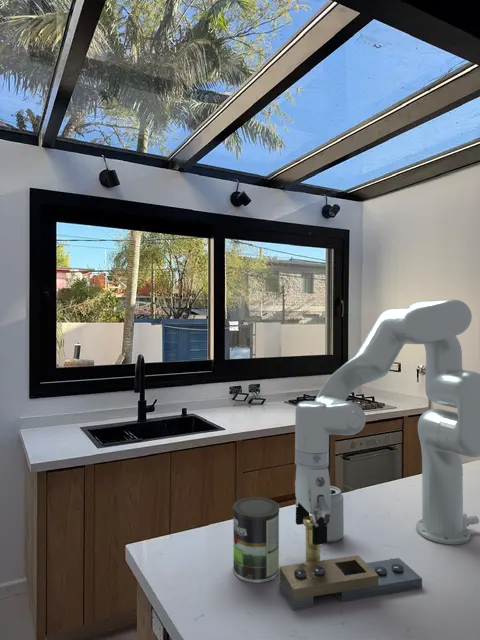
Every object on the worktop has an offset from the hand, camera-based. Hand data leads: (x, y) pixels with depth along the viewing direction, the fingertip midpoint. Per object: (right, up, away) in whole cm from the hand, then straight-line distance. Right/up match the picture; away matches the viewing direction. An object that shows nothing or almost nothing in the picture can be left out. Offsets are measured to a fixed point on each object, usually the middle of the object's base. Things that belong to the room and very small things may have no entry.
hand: (310, 533), depth 100 cm
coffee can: (-12, -7, -2) cm, 14 cm away
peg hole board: (+7, -7, -9) cm, 13 cm away
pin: (+1, -7, 0) cm, 7 cm away
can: (+7, -7, +13) cm, 16 cm away
